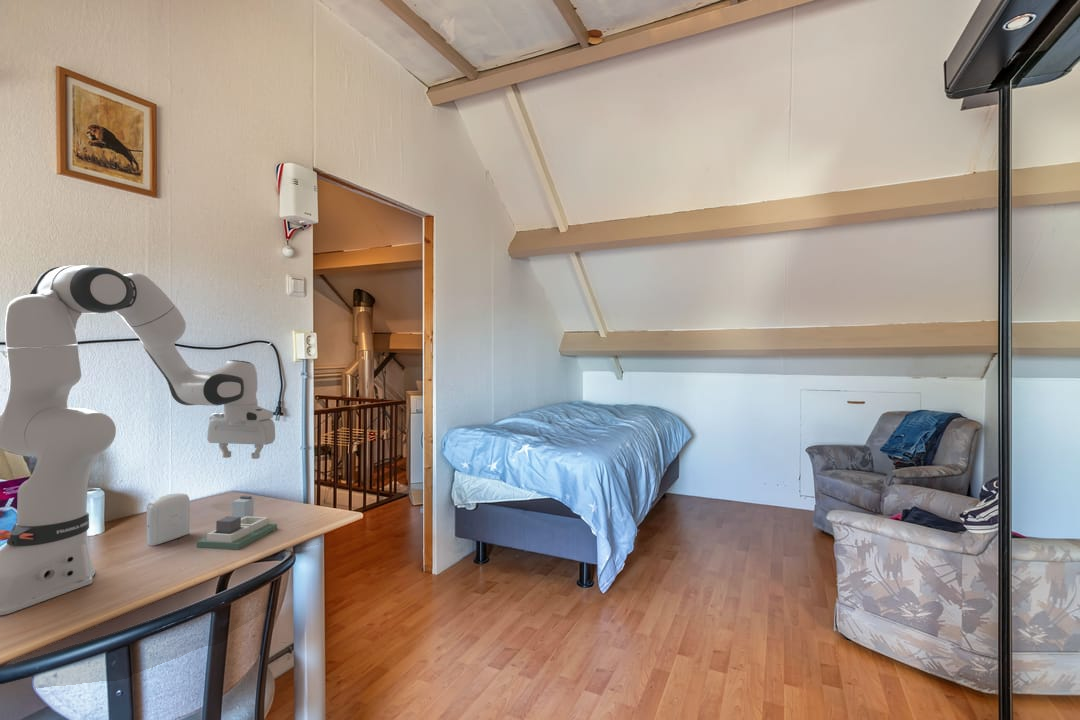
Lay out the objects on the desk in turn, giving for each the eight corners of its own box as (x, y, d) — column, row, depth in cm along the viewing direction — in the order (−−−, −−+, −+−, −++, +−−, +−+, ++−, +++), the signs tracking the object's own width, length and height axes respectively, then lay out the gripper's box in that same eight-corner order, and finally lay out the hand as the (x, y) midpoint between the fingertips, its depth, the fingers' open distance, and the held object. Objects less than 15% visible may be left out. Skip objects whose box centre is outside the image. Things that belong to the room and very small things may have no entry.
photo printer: (154, 547, 130) (155, 500, 130) (143, 545, 132) (143, 499, 132) (192, 534, 140) (192, 490, 140) (181, 532, 142) (181, 489, 142)
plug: (244, 524, 149) (244, 499, 149) (232, 524, 149) (232, 499, 149) (253, 520, 153) (253, 496, 153) (241, 520, 153) (241, 495, 153)
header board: (238, 549, 129) (238, 524, 129) (196, 547, 131) (196, 522, 131) (277, 529, 145) (277, 507, 145) (239, 526, 147) (239, 505, 147)
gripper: (201, 413, 148) (202, 459, 149) (264, 415, 146) (265, 461, 147) (217, 411, 155) (217, 454, 155) (278, 412, 153) (278, 456, 153)
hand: (241, 458), depth 151 cm, fingers open, 8 cm apart
